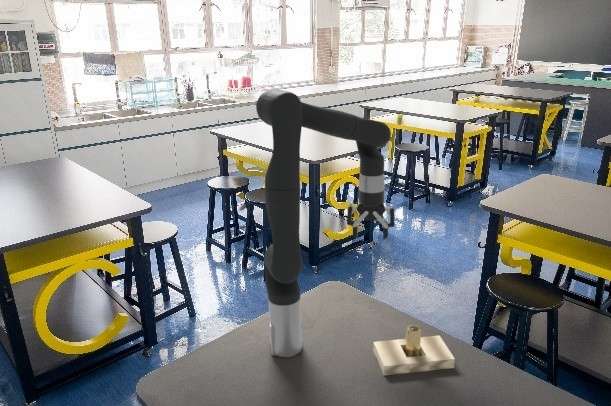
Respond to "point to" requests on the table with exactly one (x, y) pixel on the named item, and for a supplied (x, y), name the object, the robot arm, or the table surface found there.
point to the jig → (397, 362)
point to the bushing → (413, 341)
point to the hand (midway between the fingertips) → (370, 237)
